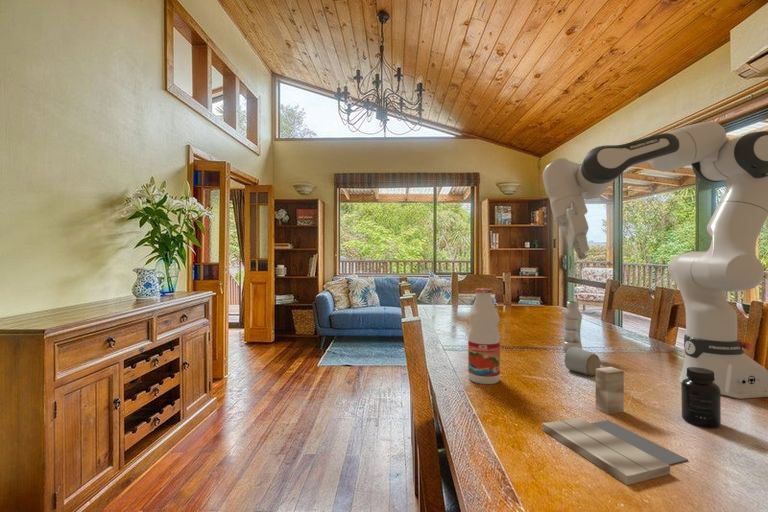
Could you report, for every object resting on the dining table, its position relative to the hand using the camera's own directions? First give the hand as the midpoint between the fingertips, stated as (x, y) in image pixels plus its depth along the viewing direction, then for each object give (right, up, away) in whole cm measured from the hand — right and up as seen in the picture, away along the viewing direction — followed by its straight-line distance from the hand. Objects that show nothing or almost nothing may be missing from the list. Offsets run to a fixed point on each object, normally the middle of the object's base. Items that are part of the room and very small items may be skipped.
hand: (584, 255), depth 103 cm
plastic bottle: (+16, -38, +37) cm, 55 cm away
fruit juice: (-26, -38, +9) cm, 47 cm away
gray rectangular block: (-1, -38, -13) cm, 40 cm away
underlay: (-5, -38, -28) cm, 48 cm away
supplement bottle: (+16, -38, -19) cm, 46 cm away
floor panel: (-14, -39, -31) cm, 51 cm away
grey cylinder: (+9, -38, +16) cm, 42 cm away
